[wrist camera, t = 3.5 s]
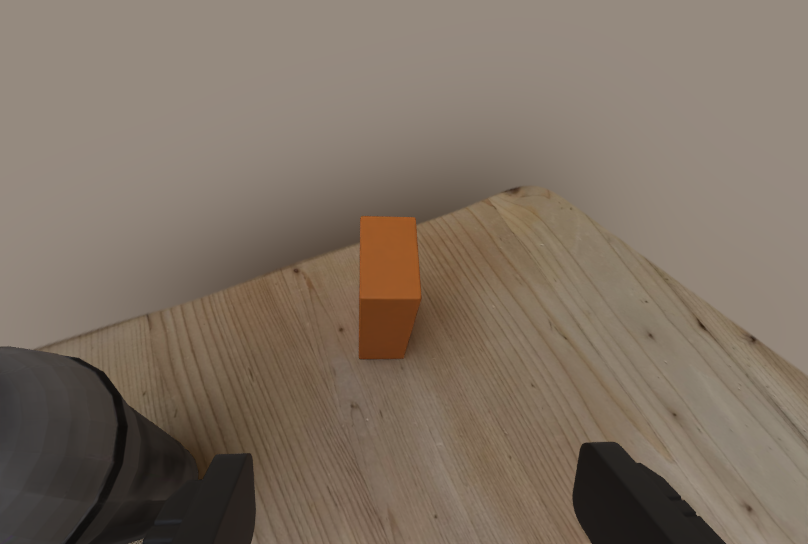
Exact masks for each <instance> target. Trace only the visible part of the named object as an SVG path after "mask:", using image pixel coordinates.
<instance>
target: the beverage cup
mask: <svg viewBox="0 0 808 544" xmlns="http://www.w3.org/2000/svg"><path fill="white" fill-rule="evenodd" d="M187 480H198V469H197V466H196V462H195V459H194V458H193V457H192V455H191V454H190V453H189V451H188V450H186V449H184V447H183V446H182V445H181V443H179V442H178V441H177V440H175V439H174V438H173V437H171V436H170V435H169V434H167V433H166V432H164V431H163V430H162V429H160V428H159V427H158V426H156V425H155V424H153V423H152V422H151V421H149V420H148V419H147V418H145V417H144V416H143V415H141V414H140V413H138V412H137V411H136V410H134V409H133V408H132V407H130V406H129V405H128V404H127V403H126V401H125V400H124V399H123V397H122V396H121V394H120V393H119V392H118V390H117V389H116V388H115V386H114V385H113V384H112V382H111V381H110V380H109V378H108V377H107V376H106V374H105V373H104V372H103V371H101V370H99V369H97V368H96V367H94V366H92V365H90V364H88V363H87V362H85V361H83V360H81V359H79V358H76V357H69V356H63V355H58V354H54V353H48V352H42V351H36V350H29V349H23V348H16V347H0V544H128V543H131V542H134V541H137V540H141V539H144V538H145V536H146V534H147V533H148V531H149V529H150V528H151V526H153V525H154V521H155V519H156V517H157V515H158V514H159V512H160V510H161V509H162V507H163V505H164V503H165V502H166V500H167V499H168V498H169V497H170V496H171V495H172V494H173V493H174V492H175V491H176V490H177V489H179V488H180V487H181V486H182V485H183V484H184V483H185V482H186V481H187Z"/></svg>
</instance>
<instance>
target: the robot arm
mask: <svg viewBox="0 0 808 544" xmlns="http://www.w3.org/2000/svg"><path fill="white" fill-rule="evenodd" d="M573 506H574V511H575V514H576V517H577V519H578V521H579V523H580V525H581V527H582V528H583V530H584V531H585V533H586V535H587V536H588V538H589V540H590V541H591V543H592V544H726V543H725V542H724V541H723V540H722V539H721V538H720V537H719V536H718V535H717V534H716V533H715V532H714V531H713V529H712V528H711V527H710V526H709V525H708V524H707V523H706V522H705V521H704V520H703V519H702V518H701V517H700V516H697V515H696V512H695V511H694V510H693V509H692V508H691V507H690V505H689V504H688V503H687V502H686V501H685V500H682V499H681V496H680V495H679V494H678V493H677V492H676V491H675V490H674V489H673V488H672V487H671V486H670V485H669V484H668V483H667V481H666V480H665V479H664V478H662V477H661V476H659V475H658V474H656V473H655V472H653V471H652V470H650V469H649V468H647V467H646V466H644V465H643V464H641V463H636V462H635V461H634V460H633V459H632V458H631V457H630V456H629V454H628V453H627V452H626V451H625V450H624V449H623V448H622V447H621V446H620V445H619V444H618V443H616V442H590V443H584V444H582V446H581V448H580V452H579V458H578V464H577V470H576V476H575V482H574V488H573ZM255 517H256V503H255V488H254V472H253V459H252V455H251V454H250V453H241V454H217V455H215V457H214V458H213V460H212V462H211V464H210V466H209V468H208V470H207V472H206V474H205V476H204V478H203V480H187V481H186V482H185V483H184V484H183V485H182V486H181V487H180V488H179V489H177V490H176V491H175V492H174V493H173V494H172V495H171V496H170V497H169V498H168V499H167V500H166V502H165V503H164V505H163V507H162V509H161V510H160V512H159V514H158V515H157V517H156V519H155V521H154V525H153V526H151V528H150V529H149V531H148V533H147V534H146V536H145V538H144V540H143V544H251V541H252V537H253V532H254V526H255Z"/></svg>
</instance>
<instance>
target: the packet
mask: <svg viewBox="0 0 808 544" xmlns="http://www.w3.org/2000/svg"><path fill="white" fill-rule="evenodd" d="M420 302H421V284H420V270H419V257H418V243H417V230H416V219H415V218H414V217H378V216H361V218H360V291H359V359H403V358H404V355H405V352H406V348H407V345H408V342H409V338H410V335H411V332H412V328H413V325H414V322H415V318H416V315H417V312H418V308H419V305H420Z"/></svg>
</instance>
